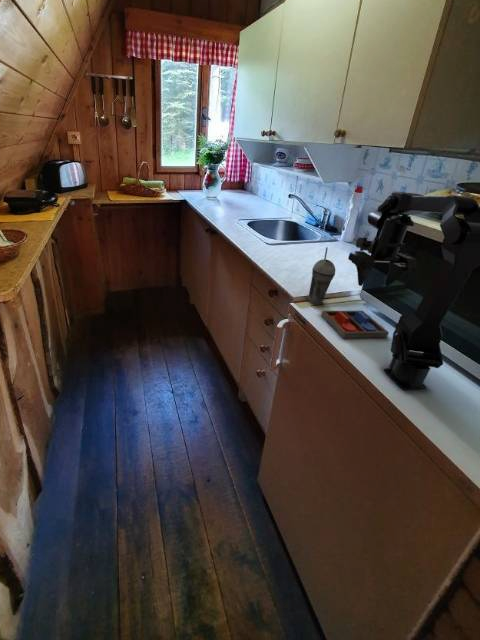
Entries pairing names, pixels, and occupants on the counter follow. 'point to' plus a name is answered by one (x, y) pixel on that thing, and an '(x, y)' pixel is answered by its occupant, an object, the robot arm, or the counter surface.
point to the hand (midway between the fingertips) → (373, 285)
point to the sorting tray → (359, 332)
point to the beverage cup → (321, 279)
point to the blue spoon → (364, 321)
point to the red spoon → (344, 321)
